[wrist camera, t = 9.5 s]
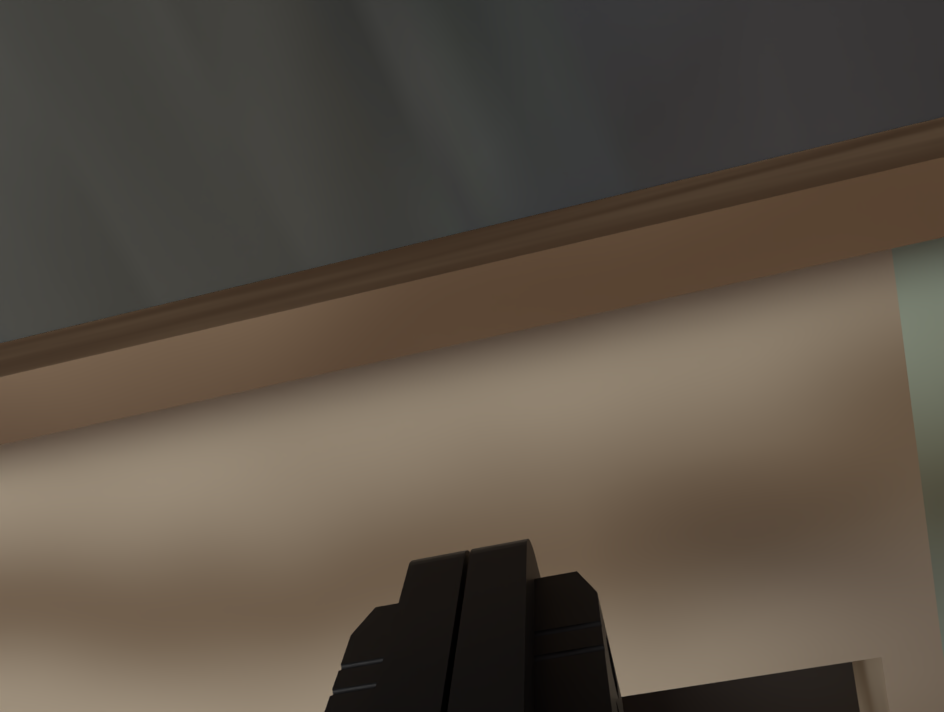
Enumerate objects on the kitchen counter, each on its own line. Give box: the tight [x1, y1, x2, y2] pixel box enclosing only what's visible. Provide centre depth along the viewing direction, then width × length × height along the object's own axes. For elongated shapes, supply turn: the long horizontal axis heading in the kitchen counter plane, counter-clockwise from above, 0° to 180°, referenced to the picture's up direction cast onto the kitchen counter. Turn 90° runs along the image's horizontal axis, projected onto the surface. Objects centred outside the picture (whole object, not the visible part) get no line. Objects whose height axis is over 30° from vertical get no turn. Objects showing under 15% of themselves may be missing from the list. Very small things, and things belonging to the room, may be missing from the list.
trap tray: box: [0, 117, 944, 712], centre depth 15 cm, size 14×24×4 cm, turn 104°
